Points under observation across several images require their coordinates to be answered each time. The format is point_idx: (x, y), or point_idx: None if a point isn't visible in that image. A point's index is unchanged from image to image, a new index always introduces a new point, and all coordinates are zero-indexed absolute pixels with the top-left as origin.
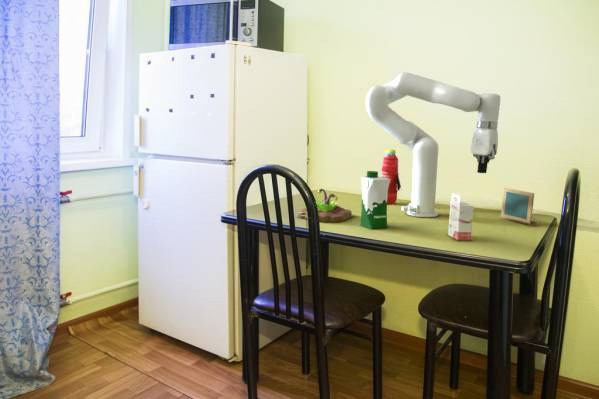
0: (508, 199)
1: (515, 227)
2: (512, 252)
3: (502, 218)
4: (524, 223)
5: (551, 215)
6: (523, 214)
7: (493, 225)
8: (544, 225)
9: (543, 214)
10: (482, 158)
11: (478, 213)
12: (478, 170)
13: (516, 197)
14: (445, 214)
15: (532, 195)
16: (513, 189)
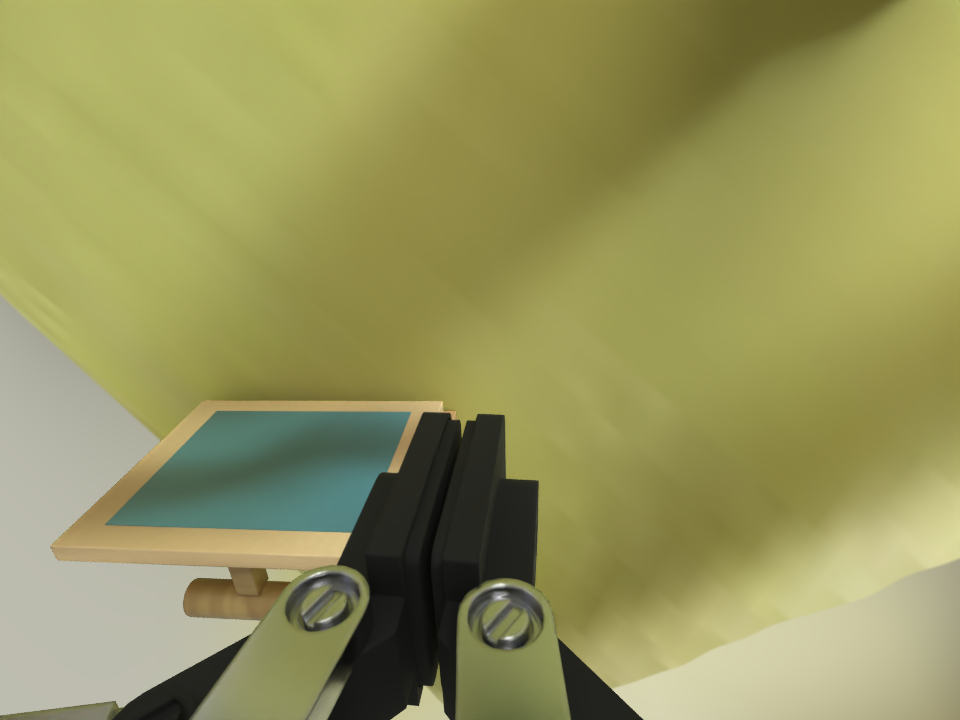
0: (350, 484)
1: (187, 282)
2: None
3: (452, 411)
4: None
5: None
6: (231, 427)
7: (264, 178)
8: None
9: None
10: (297, 690)
11: (668, 389)
12: (474, 436)
13: (254, 503)
14: (772, 79)
15: (67, 530)
16: (283, 564)
